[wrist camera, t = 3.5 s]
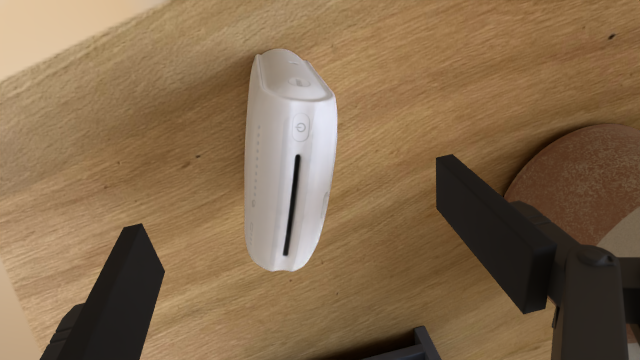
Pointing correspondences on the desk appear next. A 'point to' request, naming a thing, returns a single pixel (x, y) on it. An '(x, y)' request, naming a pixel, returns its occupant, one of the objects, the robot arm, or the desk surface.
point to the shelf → (413, 349)
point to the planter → (589, 191)
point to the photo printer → (287, 159)
